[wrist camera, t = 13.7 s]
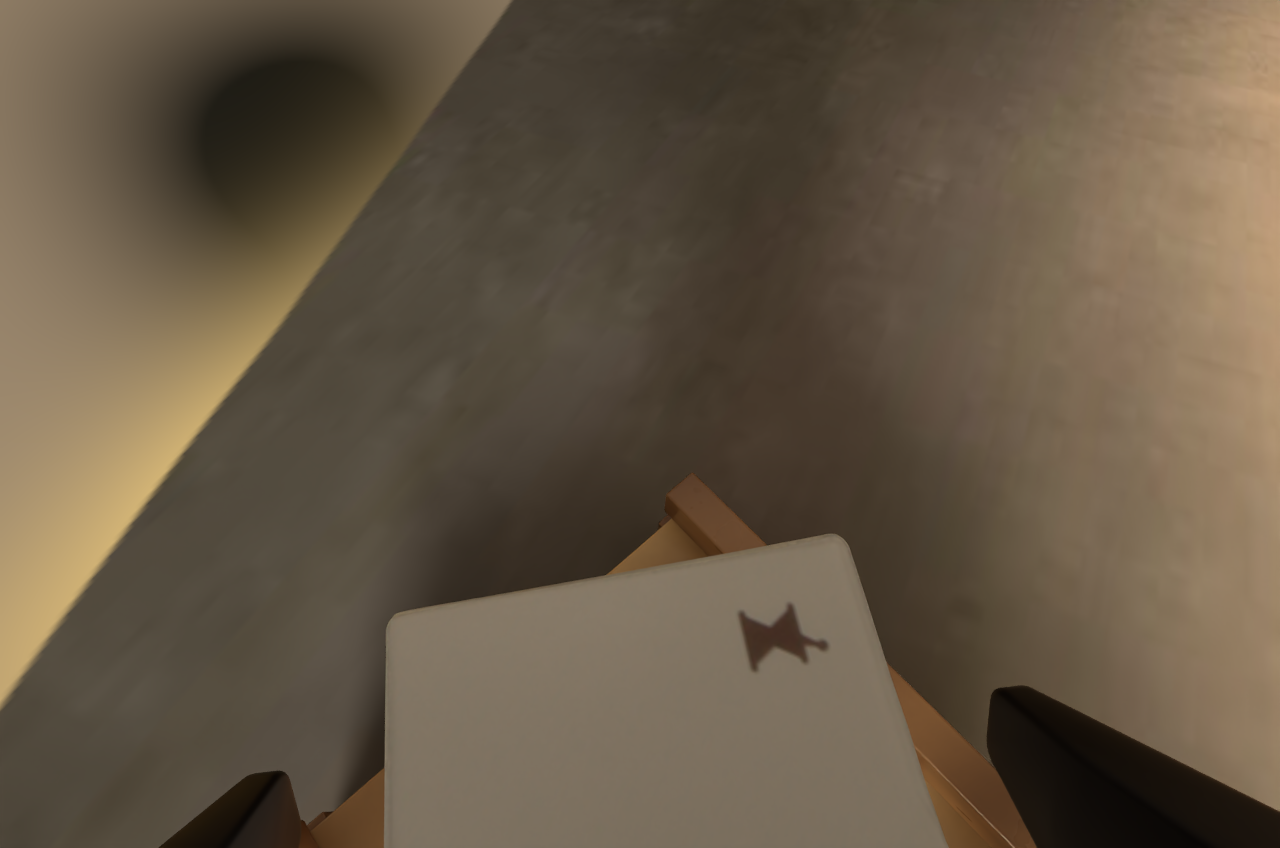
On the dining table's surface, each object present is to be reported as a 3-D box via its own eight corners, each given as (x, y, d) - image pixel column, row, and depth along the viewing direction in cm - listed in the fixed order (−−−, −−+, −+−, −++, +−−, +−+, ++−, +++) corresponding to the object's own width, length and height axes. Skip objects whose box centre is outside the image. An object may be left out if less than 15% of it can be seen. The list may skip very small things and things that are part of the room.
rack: (961, 819, 18) (1057, 827, 14) (594, 1301, 14) (579, 1511, 10) (681, 530, 22) (692, 471, 18) (326, 843, 18) (234, 858, 14)
